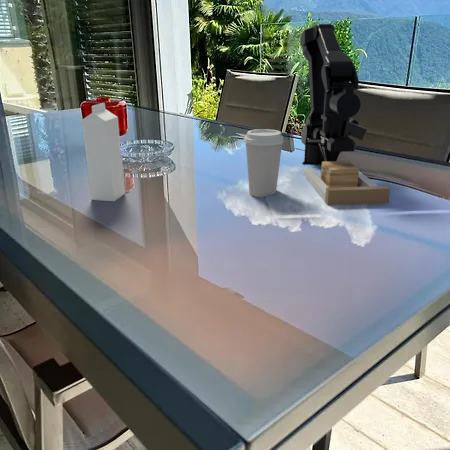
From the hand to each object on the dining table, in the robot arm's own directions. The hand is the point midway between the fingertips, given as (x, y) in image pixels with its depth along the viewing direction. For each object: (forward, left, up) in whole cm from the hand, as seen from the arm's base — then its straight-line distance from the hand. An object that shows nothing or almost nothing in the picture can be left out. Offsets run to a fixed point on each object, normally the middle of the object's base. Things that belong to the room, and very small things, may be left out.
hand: (330, 170), depth 124 cm
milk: (-45, -38, -2) cm, 58 cm away
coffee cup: (-12, -20, -2) cm, 23 cm away
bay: (+5, -9, -2) cm, 11 cm away
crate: (+4, -7, -2) cm, 8 cm away
